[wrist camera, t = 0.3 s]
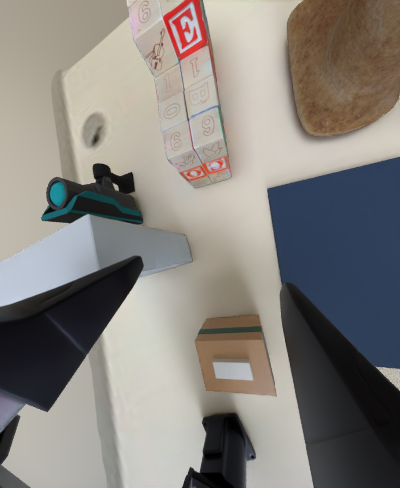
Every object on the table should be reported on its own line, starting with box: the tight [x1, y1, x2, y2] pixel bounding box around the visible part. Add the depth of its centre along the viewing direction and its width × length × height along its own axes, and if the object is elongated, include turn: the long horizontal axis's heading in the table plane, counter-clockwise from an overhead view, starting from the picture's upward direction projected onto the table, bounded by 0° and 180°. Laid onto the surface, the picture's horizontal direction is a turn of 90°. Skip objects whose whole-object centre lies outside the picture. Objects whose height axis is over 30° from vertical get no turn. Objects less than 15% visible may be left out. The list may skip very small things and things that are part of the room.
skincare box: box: [0, 214, 192, 306], centre depth 20 cm, size 21×5×16 cm, turn 109°
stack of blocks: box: [126, 0, 231, 188], centre depth 17 cm, size 21×6×12 cm, turn 10°
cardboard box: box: [195, 315, 277, 397], centre depth 20 cm, size 6×8×6 cm
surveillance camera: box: [41, 163, 143, 225], centre depth 23 cm, size 6×12×10 cm
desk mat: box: [268, 157, 400, 369], centre depth 18 cm, size 24×14×1 cm, turn 10°
